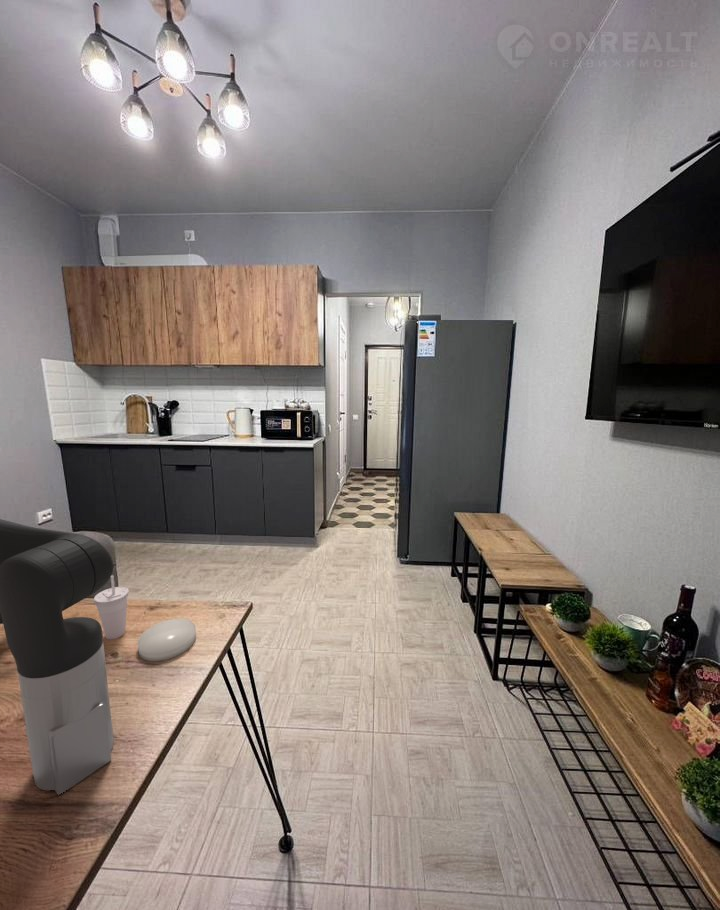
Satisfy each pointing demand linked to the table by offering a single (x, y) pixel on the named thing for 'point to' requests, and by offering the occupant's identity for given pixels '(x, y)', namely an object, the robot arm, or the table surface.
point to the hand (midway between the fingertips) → (54, 596)
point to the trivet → (166, 639)
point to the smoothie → (112, 610)
